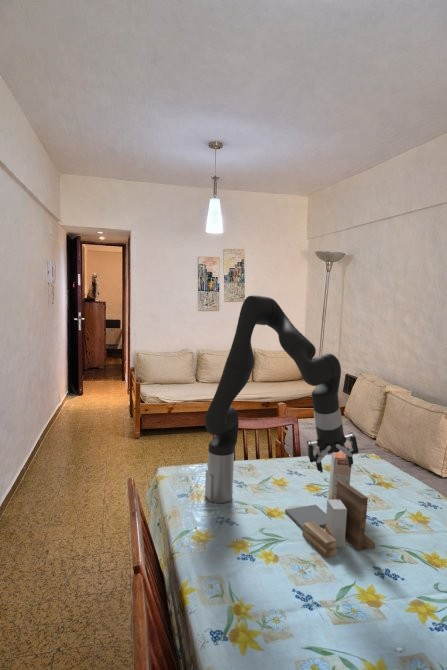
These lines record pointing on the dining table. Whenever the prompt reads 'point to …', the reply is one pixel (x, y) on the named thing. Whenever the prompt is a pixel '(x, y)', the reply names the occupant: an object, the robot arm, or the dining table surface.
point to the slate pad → (307, 515)
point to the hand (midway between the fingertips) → (335, 468)
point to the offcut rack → (354, 524)
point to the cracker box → (338, 472)
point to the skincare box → (336, 521)
